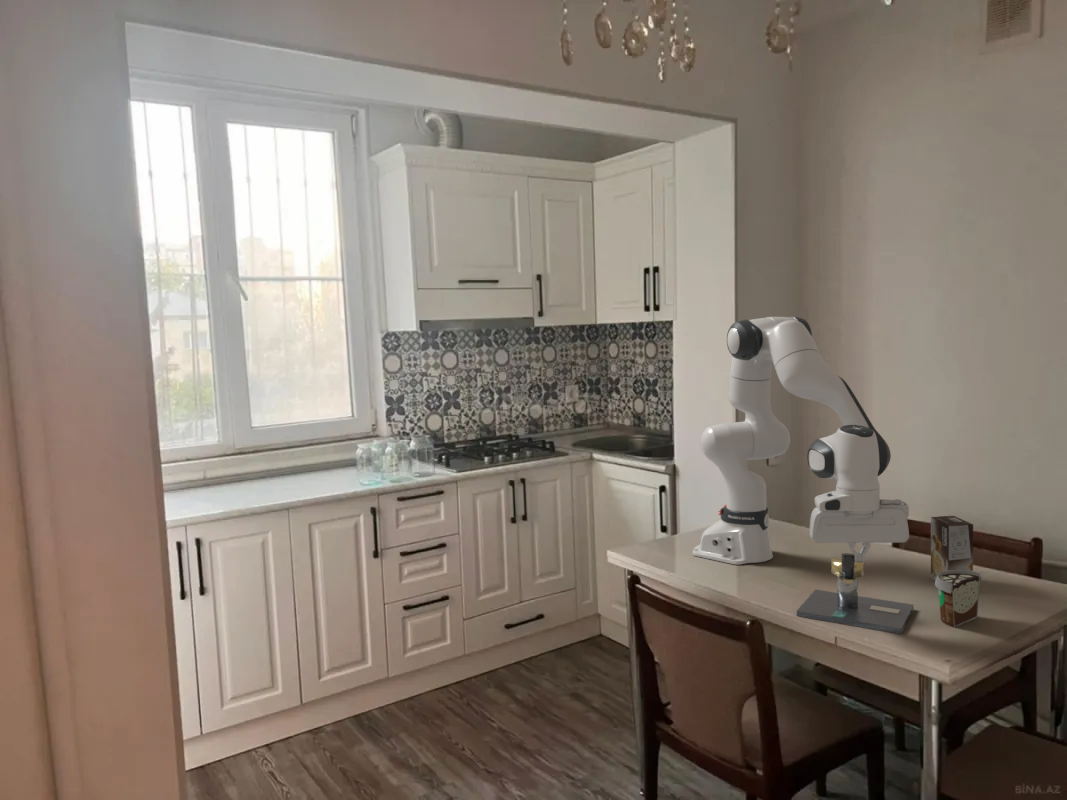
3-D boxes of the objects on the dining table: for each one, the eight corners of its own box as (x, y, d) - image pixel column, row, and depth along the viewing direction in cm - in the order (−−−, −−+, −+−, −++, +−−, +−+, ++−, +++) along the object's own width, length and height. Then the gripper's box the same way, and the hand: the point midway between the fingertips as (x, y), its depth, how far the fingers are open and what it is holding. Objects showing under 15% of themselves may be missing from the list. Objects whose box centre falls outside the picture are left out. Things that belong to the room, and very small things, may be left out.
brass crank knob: (831, 567, 185) (831, 539, 184) (863, 569, 182) (863, 540, 182) (831, 585, 172) (830, 555, 172) (865, 588, 170) (865, 557, 169)
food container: (953, 607, 179) (954, 565, 178) (981, 615, 174) (981, 572, 173) (922, 620, 173) (923, 576, 172) (950, 629, 167) (950, 584, 166)
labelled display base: (796, 615, 178) (796, 580, 178) (815, 594, 192) (815, 561, 191) (901, 634, 166) (901, 596, 165) (913, 609, 179) (913, 574, 178)
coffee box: (974, 588, 191) (975, 524, 189) (948, 589, 191) (948, 525, 189) (953, 576, 200) (954, 515, 198) (928, 577, 200) (929, 516, 198)
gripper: (904, 496, 172) (905, 557, 173) (807, 497, 175) (808, 557, 177) (912, 502, 166) (913, 566, 167) (812, 503, 169) (813, 565, 170)
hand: (858, 561), depth 172 cm, fingers closed
